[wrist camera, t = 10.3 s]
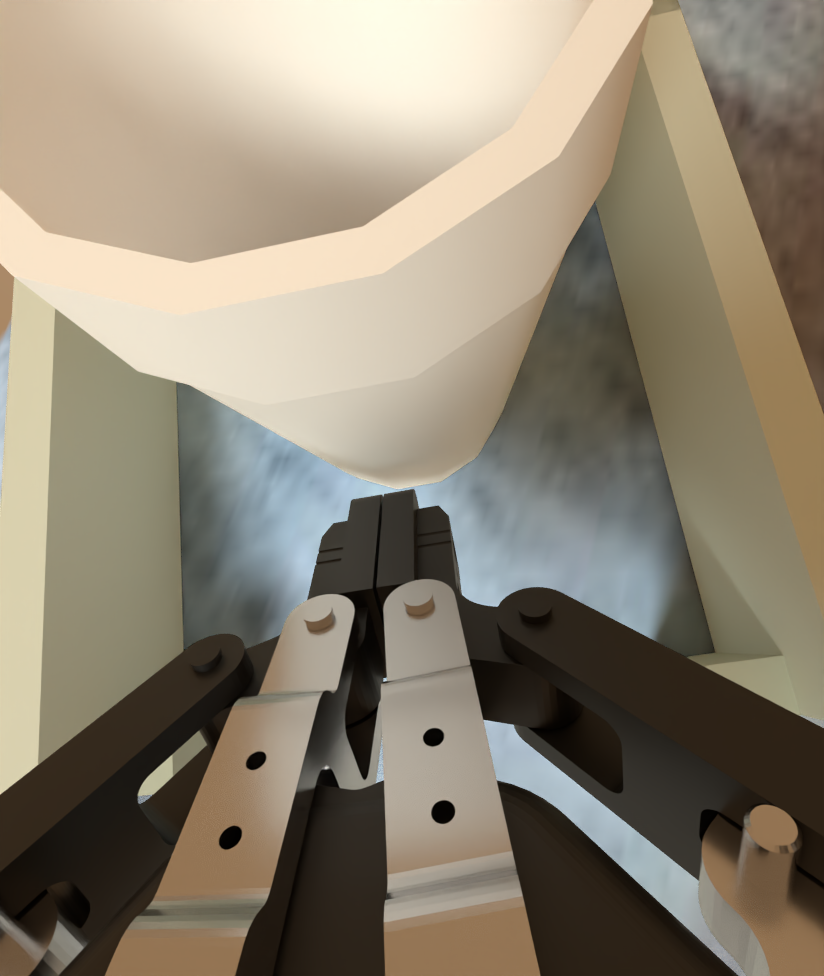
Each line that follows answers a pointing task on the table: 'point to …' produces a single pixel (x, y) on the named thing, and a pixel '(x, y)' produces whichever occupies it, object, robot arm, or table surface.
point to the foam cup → (313, 198)
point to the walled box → (669, 387)
